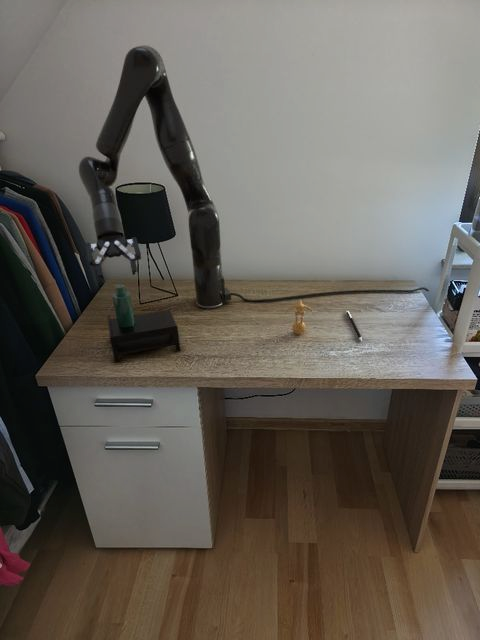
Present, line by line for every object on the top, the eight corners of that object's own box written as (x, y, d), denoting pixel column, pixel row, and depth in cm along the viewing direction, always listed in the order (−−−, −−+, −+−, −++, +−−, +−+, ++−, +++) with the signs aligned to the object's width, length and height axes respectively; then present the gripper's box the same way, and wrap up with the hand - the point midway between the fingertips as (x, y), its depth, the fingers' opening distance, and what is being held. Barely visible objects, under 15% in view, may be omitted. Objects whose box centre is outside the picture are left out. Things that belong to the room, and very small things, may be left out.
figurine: (312, 330, 146) (313, 294, 139) (313, 340, 141) (315, 303, 134) (284, 329, 146) (285, 294, 140) (285, 340, 141) (285, 303, 134)
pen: (348, 312, 155) (348, 308, 154) (363, 342, 139) (363, 339, 138) (345, 312, 155) (345, 309, 154) (360, 342, 139) (360, 339, 138)
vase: (134, 318, 139) (127, 281, 133) (136, 325, 135) (129, 288, 129) (117, 320, 138) (109, 284, 132) (118, 328, 134) (111, 291, 128)
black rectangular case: (172, 329, 147) (169, 305, 143) (180, 351, 137) (177, 325, 132) (112, 339, 142) (107, 315, 138) (115, 362, 132) (109, 337, 128)
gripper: (79, 219, 131) (89, 274, 128) (133, 213, 135) (144, 266, 131) (83, 232, 138) (93, 284, 135) (134, 226, 142) (144, 277, 139)
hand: (118, 275), depth 133 cm, fingers open, 8 cm apart
